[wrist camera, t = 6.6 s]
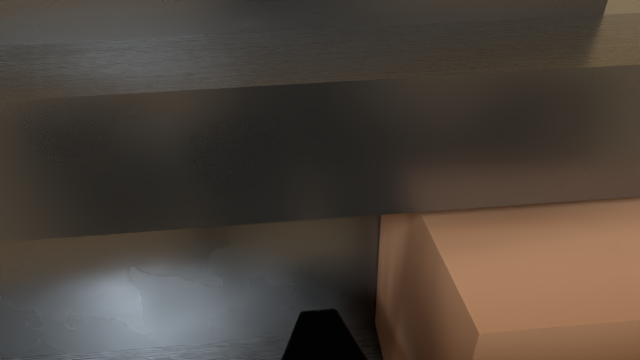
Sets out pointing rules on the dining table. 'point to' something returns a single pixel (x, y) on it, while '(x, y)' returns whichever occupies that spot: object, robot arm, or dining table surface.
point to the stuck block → (511, 282)
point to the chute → (278, 155)
